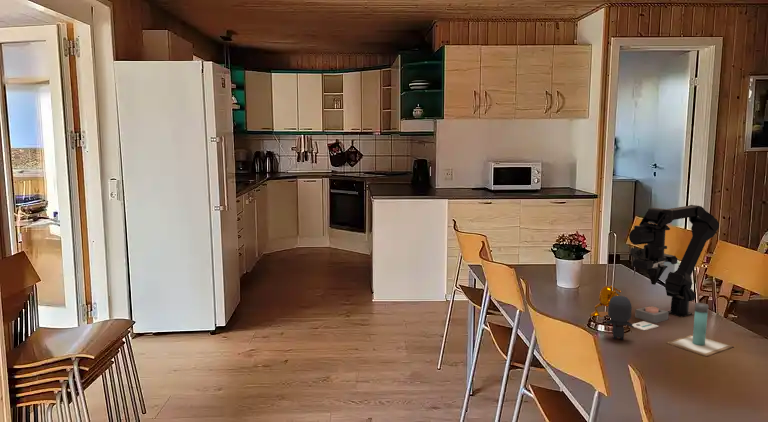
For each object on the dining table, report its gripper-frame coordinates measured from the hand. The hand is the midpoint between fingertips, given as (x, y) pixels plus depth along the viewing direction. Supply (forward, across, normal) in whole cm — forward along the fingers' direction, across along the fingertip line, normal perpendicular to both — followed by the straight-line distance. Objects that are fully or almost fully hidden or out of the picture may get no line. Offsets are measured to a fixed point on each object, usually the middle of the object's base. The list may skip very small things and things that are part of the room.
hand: (653, 284), depth 209 cm
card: (+13, +10, +4) cm, 17 cm away
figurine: (+13, +13, -10) cm, 21 cm away
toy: (+13, +29, +8) cm, 33 cm away
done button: (+12, 0, 0) cm, 12 cm away
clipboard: (+13, +11, +25) cm, 30 cm away
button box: (+13, 0, 0) cm, 13 cm away
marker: (+12, +11, +24) cm, 30 cm away
